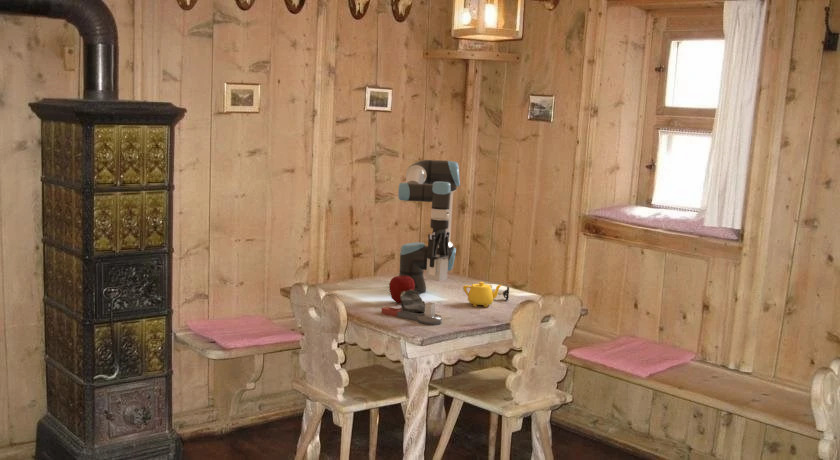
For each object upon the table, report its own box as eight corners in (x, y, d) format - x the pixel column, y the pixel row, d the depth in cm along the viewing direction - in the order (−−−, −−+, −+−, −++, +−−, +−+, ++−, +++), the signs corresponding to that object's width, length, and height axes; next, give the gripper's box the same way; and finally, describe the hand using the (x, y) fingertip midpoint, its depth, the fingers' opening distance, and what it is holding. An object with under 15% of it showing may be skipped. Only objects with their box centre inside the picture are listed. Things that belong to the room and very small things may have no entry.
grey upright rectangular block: (426, 279, 353) (427, 255, 352) (434, 277, 358) (435, 254, 357) (439, 281, 350) (440, 257, 348) (447, 279, 355) (448, 255, 354)
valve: (482, 300, 400) (507, 302, 398) (483, 286, 399) (508, 288, 397) (483, 297, 406) (508, 299, 404) (484, 283, 405) (509, 285, 403)
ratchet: (377, 314, 360) (378, 296, 358) (390, 310, 368) (391, 292, 367) (433, 326, 345) (434, 307, 344) (445, 322, 353) (446, 303, 352)
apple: (402, 299, 392) (403, 270, 390) (419, 303, 384) (421, 275, 382) (382, 302, 384) (384, 273, 382) (400, 307, 376) (401, 277, 374)
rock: (402, 307, 377) (400, 286, 374) (426, 304, 377) (424, 284, 374) (402, 321, 364) (399, 300, 360) (427, 319, 364) (425, 298, 360)
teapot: (500, 303, 393) (502, 281, 392) (501, 309, 382) (503, 285, 381) (462, 301, 394) (463, 278, 392) (462, 306, 383) (463, 283, 381)
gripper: (435, 221, 341) (432, 277, 344) (459, 218, 357) (456, 272, 360) (419, 219, 345) (416, 275, 347) (443, 216, 361) (440, 269, 364)
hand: (436, 273), depth 354 cm, fingers closed on grey upright rectangular block, 6 cm apart
